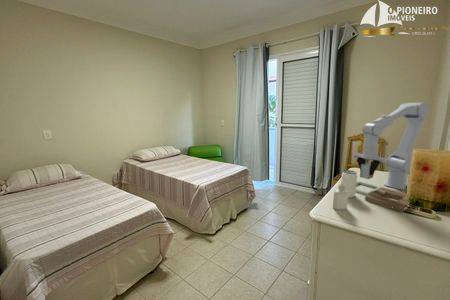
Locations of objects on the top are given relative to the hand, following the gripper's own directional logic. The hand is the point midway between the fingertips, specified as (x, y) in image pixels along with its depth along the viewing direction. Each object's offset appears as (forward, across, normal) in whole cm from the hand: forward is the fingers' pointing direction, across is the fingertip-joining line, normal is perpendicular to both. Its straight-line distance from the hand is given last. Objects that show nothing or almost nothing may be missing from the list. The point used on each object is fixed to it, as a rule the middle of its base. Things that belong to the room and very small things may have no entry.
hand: (366, 173), depth 106 cm
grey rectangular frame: (+9, -1, 0) cm, 9 cm away
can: (+9, -2, -14) cm, 17 cm away
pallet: (+9, +13, -4) cm, 16 cm away
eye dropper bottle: (+9, +3, -30) cm, 31 cm away
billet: (+2, 0, 0) cm, 2 cm away
